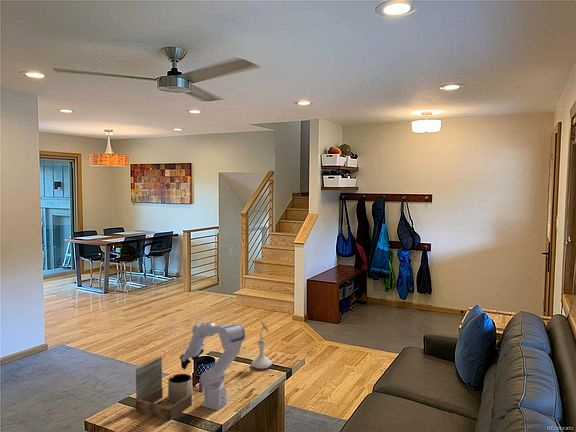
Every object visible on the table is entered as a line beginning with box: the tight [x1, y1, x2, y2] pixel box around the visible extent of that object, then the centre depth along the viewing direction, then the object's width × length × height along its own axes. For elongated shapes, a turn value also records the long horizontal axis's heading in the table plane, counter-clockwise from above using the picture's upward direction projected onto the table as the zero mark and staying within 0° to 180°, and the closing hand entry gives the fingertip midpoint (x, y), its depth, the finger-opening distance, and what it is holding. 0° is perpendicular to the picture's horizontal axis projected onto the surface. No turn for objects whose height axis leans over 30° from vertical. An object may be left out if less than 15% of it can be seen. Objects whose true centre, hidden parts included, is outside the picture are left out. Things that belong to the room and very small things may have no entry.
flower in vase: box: [250, 320, 273, 370], centre depth 235 cm, size 13×11×25 cm
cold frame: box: [135, 357, 193, 422], centre depth 188 cm, size 18×15×19 cm
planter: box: [167, 373, 193, 404], centre depth 198 cm, size 11×11×10 cm
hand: (188, 363), depth 207 cm, fingers open, 7 cm apart
